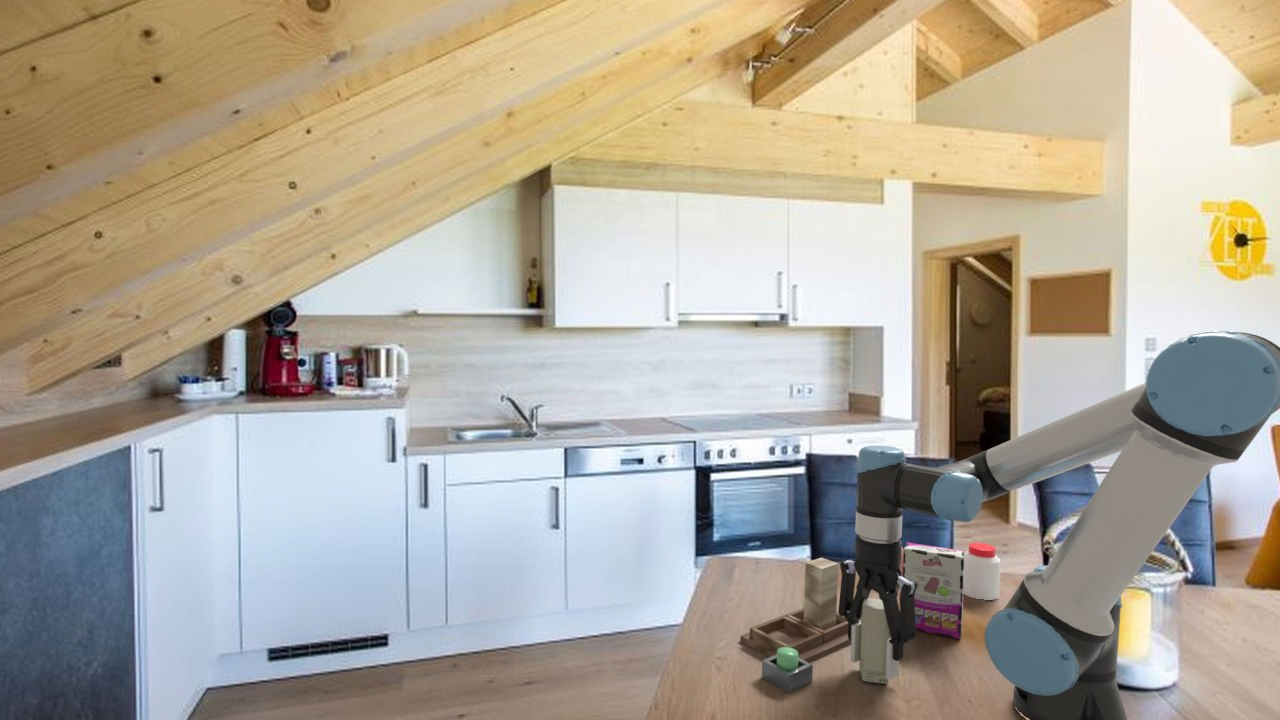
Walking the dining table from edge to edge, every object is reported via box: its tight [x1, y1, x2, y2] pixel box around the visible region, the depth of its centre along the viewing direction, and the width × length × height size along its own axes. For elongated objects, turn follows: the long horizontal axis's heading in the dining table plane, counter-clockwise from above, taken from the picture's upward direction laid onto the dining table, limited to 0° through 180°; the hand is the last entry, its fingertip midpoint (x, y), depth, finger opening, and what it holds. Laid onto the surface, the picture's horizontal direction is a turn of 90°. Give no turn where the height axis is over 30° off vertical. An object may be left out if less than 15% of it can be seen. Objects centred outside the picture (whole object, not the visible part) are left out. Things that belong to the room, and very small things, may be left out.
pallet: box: [739, 557, 851, 663], centre depth 130 cm, size 13×21×14 cm, turn 127°
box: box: [859, 597, 891, 685], centre depth 116 cm, size 5×4×13 cm
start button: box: [777, 647, 798, 672], centre depth 115 cm, size 4×4×4 cm
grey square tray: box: [761, 654, 814, 694], centre depth 115 cm, size 6×6×3 cm
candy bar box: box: [903, 542, 966, 640], centre depth 135 cm, size 11×5×16 cm, turn 62°
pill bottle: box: [963, 542, 1002, 601], centre depth 153 cm, size 8×8×11 cm
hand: (874, 667), depth 116 cm, fingers closed on box, 6 cm apart
